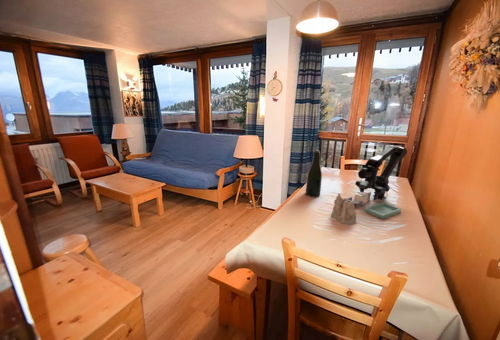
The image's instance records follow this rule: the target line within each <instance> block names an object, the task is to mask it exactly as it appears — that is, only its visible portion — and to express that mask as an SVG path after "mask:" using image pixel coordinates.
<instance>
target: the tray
mask: <svg viewBox="0 0 500 340" xmlns="http://www.w3.org/2000/svg"><path fill="white" fill-rule="evenodd" d="M401 211H402V208H400V207H398V206H396V205H392V204H391V203H390V204H389V203H387V202H384V201H383V202H380V203H375V204H373V205H371V206H367V207H365V209H364V212H365V213H367V214H369V215H372V216H373V217H376V218H377V219H380V220H385V219H386V218H389V217H393V216H395V215H397V214H400V213H401Z"/></svg>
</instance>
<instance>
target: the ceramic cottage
mask: <svg viewBox="0 0 500 340" xmlns="http://www.w3.org/2000/svg"><path fill="white" fill-rule="evenodd" d="M344 199H345V198H342V196H341V193H340V192H339V193H338V194H337V196H336V198H335V199H334V202H333V203H334V204H333V205H334V206H333V208H332V211H331V215H330V216H331V217H332V218H333V219H334V220H335V221H337V222H339V223H341V224H343V225H345V226H353V225H356V224H357V211H356V210H355V209H356V208H355V206H354V204H353V202H354V201H353V202H348V199H346V200H344Z"/></svg>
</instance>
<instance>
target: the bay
mask: <svg viewBox="0 0 500 340" xmlns="http://www.w3.org/2000/svg"><path fill="white" fill-rule="evenodd" d="M343 199H344V200H346V199H348V202H353V204H354V206H355V208H354V209H356V208H357V209H358V208H360V207H363V204H364V203H363V201H360V202H357V203H356V202H354V200H353V196H349V197H345V198H343Z"/></svg>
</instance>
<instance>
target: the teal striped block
mask: <svg viewBox="0 0 500 340" xmlns="http://www.w3.org/2000/svg"><path fill="white" fill-rule="evenodd" d="M371 195H372V191H364V193H363V192H360V191H359V192H357V193H354V197H353V198H354V199H353V202H355V203H357V202H360V201H363V204H366V203H368V201H370V200H371Z"/></svg>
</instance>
